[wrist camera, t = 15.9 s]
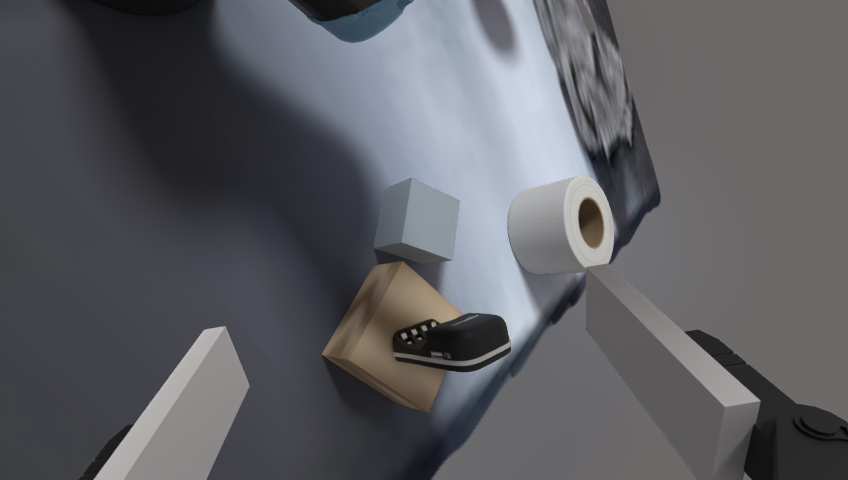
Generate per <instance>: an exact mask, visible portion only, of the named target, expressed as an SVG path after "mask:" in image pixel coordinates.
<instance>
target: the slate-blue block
mask: <svg viewBox="0 0 848 480" xmlns="http://www.w3.org/2000/svg"><path fill="white" fill-rule="evenodd" d="M459 204H460V200H457V199H455V198H453V197H451V196H449V195H447V194H445V193H443V192H441V191H439V190H437V189H435V188H432V187H430V186H428V185H426V184H424V183H422V182H420V181H418V180H416V179H414V178H410V179H407V180H405V181H402V182H400V183H398V184H395V185H393V186H390V187H388V188H385V189H384V193H383V198H382V204H381V209H380V215H379V220H378V226H377V231H376V237H375V242H374V248H375V249H378V250H381V251H384V252H387V253H390V254H393V255H396V256H399V257H402V258H405V259H408V260H411V261H414V262H417V263H420V264H428V263H436V262H443V261H450V260H453V253H454V245H455V237H456V229H457V221H458V212H459Z"/></svg>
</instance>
